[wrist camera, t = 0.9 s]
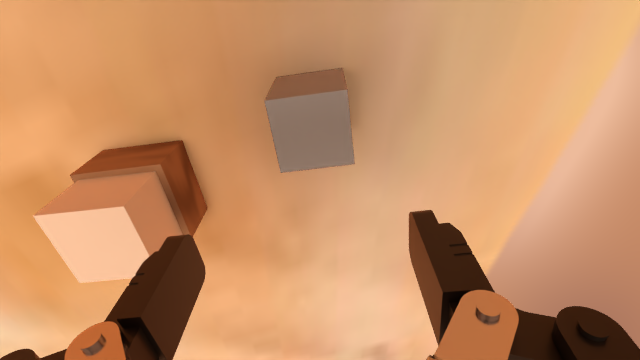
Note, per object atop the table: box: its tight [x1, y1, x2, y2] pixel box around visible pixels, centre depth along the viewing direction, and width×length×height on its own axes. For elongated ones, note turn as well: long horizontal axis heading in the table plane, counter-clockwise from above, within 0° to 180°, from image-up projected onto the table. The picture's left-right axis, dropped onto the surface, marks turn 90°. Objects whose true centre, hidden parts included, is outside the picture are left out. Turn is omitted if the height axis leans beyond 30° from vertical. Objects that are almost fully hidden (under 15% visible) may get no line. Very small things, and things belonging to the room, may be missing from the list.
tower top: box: [33, 171, 183, 283], centre depth 24 cm, size 6×6×4 cm
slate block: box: [265, 68, 355, 173], centre depth 24 cm, size 5×5×6 cm
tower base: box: [70, 140, 207, 237], centre depth 28 cm, size 7×7×4 cm
